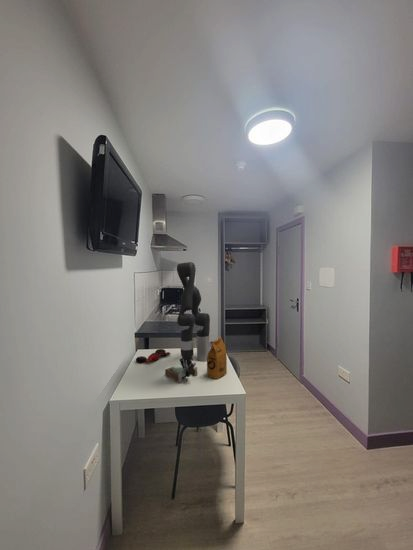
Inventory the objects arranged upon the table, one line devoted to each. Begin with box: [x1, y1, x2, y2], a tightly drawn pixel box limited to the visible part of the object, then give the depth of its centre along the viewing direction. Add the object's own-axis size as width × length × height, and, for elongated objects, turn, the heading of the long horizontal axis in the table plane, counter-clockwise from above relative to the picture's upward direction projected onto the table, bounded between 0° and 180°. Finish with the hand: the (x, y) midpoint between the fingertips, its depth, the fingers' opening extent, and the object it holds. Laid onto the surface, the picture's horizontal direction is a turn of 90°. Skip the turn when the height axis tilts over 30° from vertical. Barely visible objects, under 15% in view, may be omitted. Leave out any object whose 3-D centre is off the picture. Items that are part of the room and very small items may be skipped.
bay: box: [164, 366, 198, 384], centre depth 144 cm, size 14×15×5 cm
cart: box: [171, 363, 186, 378], centre depth 144 cm, size 9×7×5 cm
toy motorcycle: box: [135, 348, 171, 364], centre depth 171 cm, size 25×5×16 cm
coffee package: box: [206, 336, 228, 380], centre depth 144 cm, size 10×12×22 cm
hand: (187, 376), depth 139 cm, fingers closed
